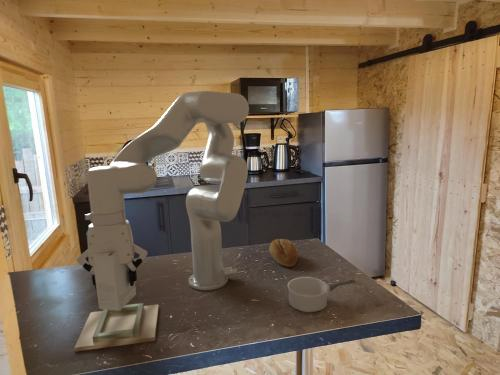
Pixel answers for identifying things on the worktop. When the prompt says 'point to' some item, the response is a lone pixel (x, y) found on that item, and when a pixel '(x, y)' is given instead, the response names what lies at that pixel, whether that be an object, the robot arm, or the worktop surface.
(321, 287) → the saucepan
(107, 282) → the skincare box
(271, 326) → the worktop surface
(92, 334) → the nest board
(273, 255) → the bread roll
